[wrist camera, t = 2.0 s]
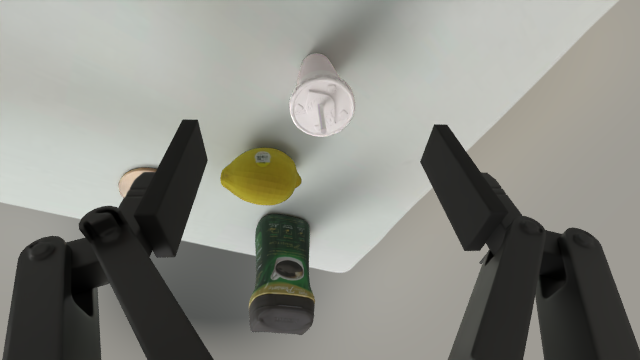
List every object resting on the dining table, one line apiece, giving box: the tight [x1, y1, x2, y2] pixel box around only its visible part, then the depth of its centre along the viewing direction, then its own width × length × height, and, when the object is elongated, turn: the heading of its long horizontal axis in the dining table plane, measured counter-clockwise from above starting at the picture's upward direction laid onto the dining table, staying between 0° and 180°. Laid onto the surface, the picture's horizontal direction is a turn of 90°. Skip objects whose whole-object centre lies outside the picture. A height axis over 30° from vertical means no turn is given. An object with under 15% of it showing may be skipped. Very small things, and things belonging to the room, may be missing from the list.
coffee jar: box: [249, 214, 315, 335], centre depth 48 cm, size 10×8×19 cm
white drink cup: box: [289, 53, 355, 137], centre depth 30 cm, size 6×6×14 cm
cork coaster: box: [119, 168, 157, 198], centre depth 47 cm, size 10×10×1 cm
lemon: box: [220, 148, 301, 205], centre depth 41 cm, size 11×8×8 cm
